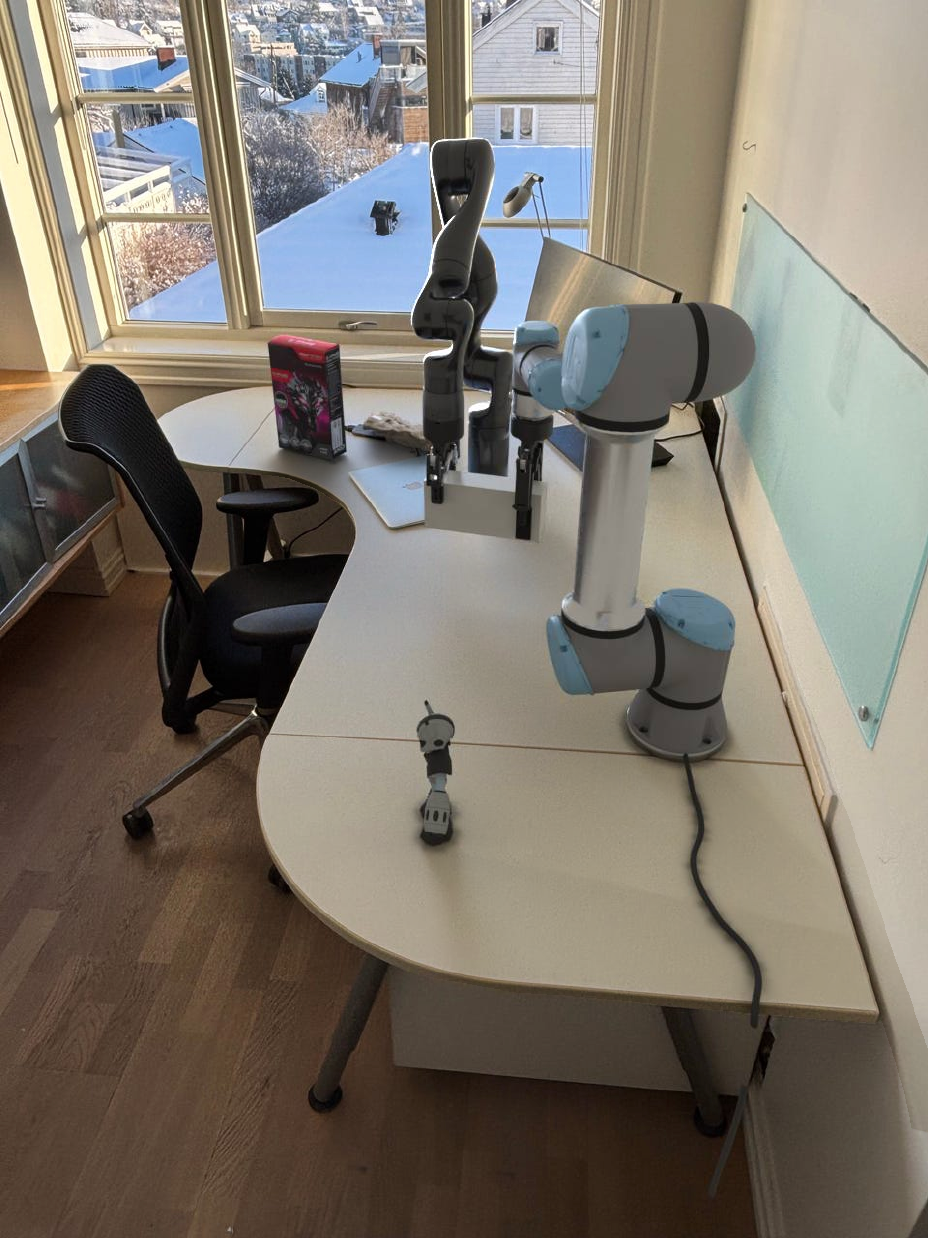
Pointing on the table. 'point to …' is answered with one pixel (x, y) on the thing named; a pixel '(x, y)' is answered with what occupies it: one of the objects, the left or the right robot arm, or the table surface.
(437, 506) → the box
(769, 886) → the table surface
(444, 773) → the robot
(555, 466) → the table surface
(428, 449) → the stone
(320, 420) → the graphics card box
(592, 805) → the table surface
